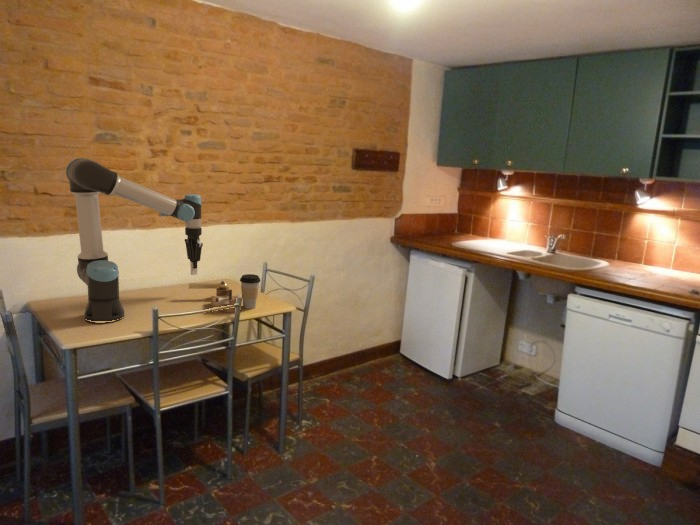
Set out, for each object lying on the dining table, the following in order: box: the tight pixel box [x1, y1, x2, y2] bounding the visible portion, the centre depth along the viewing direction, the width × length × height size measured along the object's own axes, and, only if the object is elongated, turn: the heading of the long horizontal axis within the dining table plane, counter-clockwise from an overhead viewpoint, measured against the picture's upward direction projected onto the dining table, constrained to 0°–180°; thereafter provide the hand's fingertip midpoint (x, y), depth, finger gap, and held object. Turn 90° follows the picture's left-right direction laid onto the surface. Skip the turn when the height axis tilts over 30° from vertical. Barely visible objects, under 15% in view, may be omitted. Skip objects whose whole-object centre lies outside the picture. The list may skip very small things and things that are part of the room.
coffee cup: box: [239, 273, 261, 310], centre depth 239 cm, size 9×9×15 cm
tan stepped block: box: [210, 289, 238, 314], centre depth 236 cm, size 12×14×8 cm
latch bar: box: [188, 280, 228, 290], centre depth 247 cm, size 18×4×3 cm, turn 106°
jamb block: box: [215, 286, 230, 296], centre depth 250 cm, size 6×6×5 cm
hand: (194, 274), depth 250 cm, fingers closed
